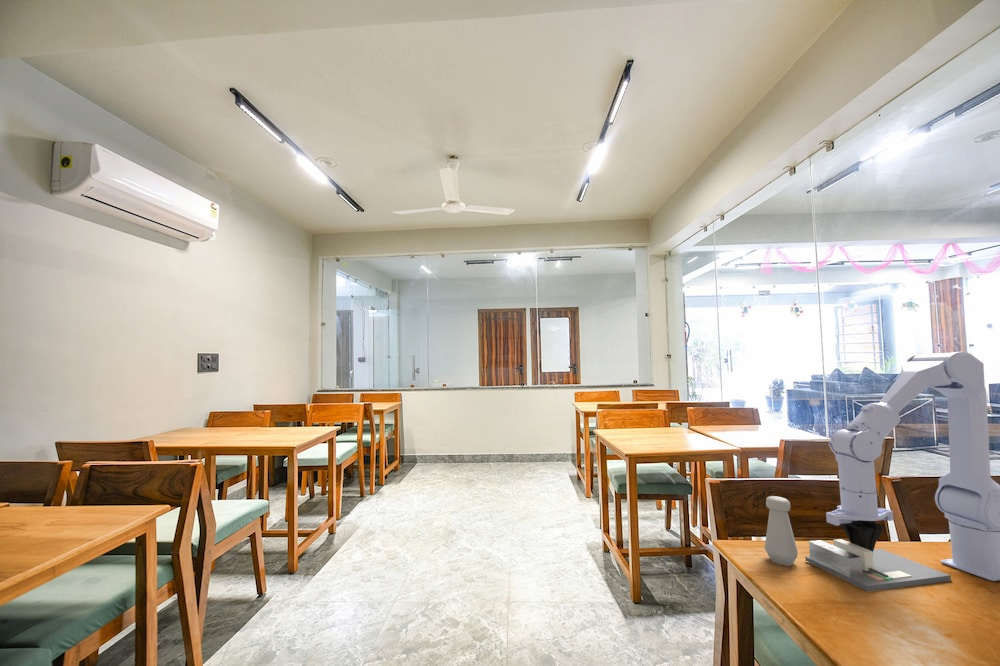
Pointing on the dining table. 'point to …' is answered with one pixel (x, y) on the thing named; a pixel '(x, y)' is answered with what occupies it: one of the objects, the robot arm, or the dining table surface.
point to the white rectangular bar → (859, 554)
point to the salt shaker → (780, 532)
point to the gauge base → (890, 573)
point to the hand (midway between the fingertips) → (863, 558)
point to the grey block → (836, 558)
